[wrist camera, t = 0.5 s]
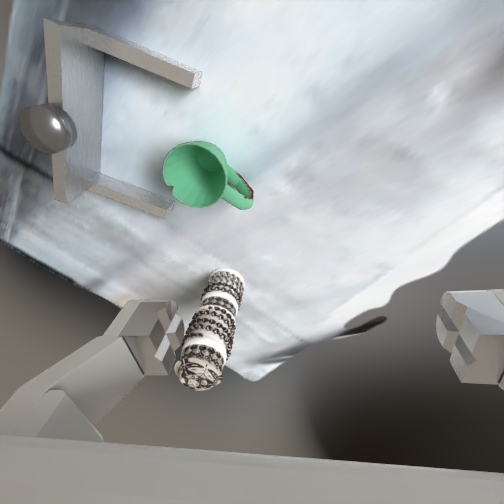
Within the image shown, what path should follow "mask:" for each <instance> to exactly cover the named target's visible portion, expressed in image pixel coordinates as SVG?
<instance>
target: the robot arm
mask: <svg viewBox="0 0 504 504" xmlns="http://www.w3.org/2000/svg"><path fill="white" fill-rule="evenodd" d="M441 304H442V305H443V307H444V310H442V311H441V312H440V313H439V314H438V316H437V320H436V329H437V334H438V337H439V340H440V342H441V344H442V346H443V348H445V349H446V350H448V351H449V352H451V353H452V355H451V358H450V362H451V364H452V366H453V368H454V370H455V371H456V373H457V375H458V377H459V379H460V381H461V383H481V384H499V387H500V388H502V389H503V390H504V289H500V290H499V289H498V290H497V289H496V290H480V291H451V292H445V293H444V294H443V296H442V300H441ZM177 309H178V307H177V305H176V303H175V301H174V300H171V299H159V300H130V301H128V302H127V303H126V304H125V306H124V307H123V308H122V310H121V311H120V313H119V314H118V316H117V317H116V318H115V319H114V321H113V322H112V324H111V325H110V326H109V328H108V329H107V331H106V332H105V333H104V335H103V336H102V337H97V338H95V339H93V340H92V341H90V342H89V343H87V344H86V345H84V346H83V347H81V348H79V349H78V350H76V351H75V352H73V353H72V354H71V355H69V356H67V357H66V358H64V359H63V360H61V361H60V362H58V363H56V364H55V365H53V366H52V367H50V368H49V369H47V370H46V371H44V372H42V373H41V374H39V375H38V376H36V377H35V378H33V379H32V380H30V381H29V382H27V383H26V384H24V385H22V386H21V387H19V389H18V390H17V391H16V392H15V393H14V395H13V396H12V397H11V398H10V399H9V400H8V402H7V403H6V404H5V405H4V406H3V407H2V408H1V410H0V504H504V473H492V472H480V471H467V470H454V469H441V468H428V467H415V466H403V465H389V464H377V463H364V462H351V461H338V460H324V459H312V458H299V457H286V456H273V455H260V454H247V453H234V452H221V451H208V450H195V449H181V448H169V447H155V446H143V445H130V444H116V443H103V438H102V436H101V434H100V433H99V432H98V431H97V430H96V428H95V427H94V426H95V425H96V424H97V423H98V422H99V421H100V420H101V419H102V418H103V417H104V416H105V415H106V414H107V413H108V412H109V411H110V410H111V409H112V408H113V407H114V406H115V405H116V404H117V403H118V402H119V401H120V400H121V399H122V398H123V397H124V396H125V395H126V394H127V393H128V392H129V391H130V390H131V389H132V388H133V387H134V386H135V385H136V384H137V383H138V382H139V381H140V380H141V379H142V378H143V377H144V375H169V372H170V370H171V367H172V365H173V363H174V361H175V358H176V356H175V353H174V351H175V350H176V349H177V348H179V347H180V346H181V344H182V341H183V338H184V323H183V320H182V318H181V317H180V316H179V315H177V314H176V311H177Z"/></svg>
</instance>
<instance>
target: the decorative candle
mask: <svg viewBox="0 0 504 504" xmlns="http://www.w3.org/2000/svg"><path fill="white" fill-rule="evenodd" d="M208 282H209V284H206V286H207V287H206V288H205V289H204V293H203V294H202V298H201V304H200V308H199V309H198V310H196V312H195V314H194V316H193V318H192V319H193V320H192V321H191V323H189V328H188V329H187V331H186V335H185V336H184V338H183V341H182V347H183V349H182V352H181V357H180V360H179V361H178V362H177V363H176V364H175V367H174V369H175V372H176V374H177V375H178V377H179V379H180V381H181V382H182V383H183V384H184V385H185V386H186V387H188V388H190V389H194V390H200V391H203V390H208V389H210V388H211V387H213V386H216V385H217V384H219V383H220V382H221V380H222V370H223V366H224V364H225V362H226V361H227V360H228V357H229V356H230V355H231V349H232V344H233V338H234V337H233V335H234V330H235V329H236V326H235V325H236V322H235V316H236V314H237V311H238V310H239V307H240V302H241V301H242V296H243V291H244V287H245V283H244V279H243V277H242V276H241V275H240V274H239V273H238V272H237V271H235V270H232V269H229V268H219V269H216V270H214V271H213V272H212V273H211V275H210V278H209V279H208ZM189 333H190V334H189ZM187 339H188V340H187ZM185 340H187V341H186V342H185Z"/></svg>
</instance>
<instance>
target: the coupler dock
mask: <svg viewBox="0 0 504 504" xmlns="http://www.w3.org/2000/svg"><path fill="white" fill-rule="evenodd" d="M43 22H44V39H45V55H46V72H47V88H48V104H41V105H36V106H31V107H27V108H25V109H23V110H22V111H21V113H20V115H19V126H20V129H21V131H22V133H23V135H24V137H25V138H26V140H27V141H28V142H29V143H30V144H31V145H32V146H33V147H34V148H36V149H37V150H39V151H41V152H43V153H46V154H52V170H53V187H54V199H55V200H58V201H61V202H63V203H68V202H69V201H71V200H72V199H74V198H76V197H77V196H79V195H80V194H82V193H83V192H85V191H87V190H89V191H92V192H94V193H97V194H100V195H102V196H105V197H108V198H110V199H113V200H116V201H118V202H121V203H124V204H126V205H129V206H132V207H134V208H137V209H140V210H143V211H145V212H148V213H151V214H153V215H156V216H159V217H161V218H164V219H166V217H167V216H168V215H169V214H170V213H171V211H172V210H173V206H174V202H175V201H172V200H170V199H167V198H165V197H162V196H159V195H157V194H154V193H151V192H149V191H146V190H144V189H141V188H138V187H136V186H133V185H130V184H128V183H125V182H123V181H120V180H117V179H115V178H112V177H109V176H107V175H104V174H102V173H100V161H101V137H102V112H103V88H104V64H105V53H107V54H110V55H112V56H114V57H117V58H119V59H122V60H124V61H126V62H129V63H131V64H133V65H136V66H138V67H141V68H143V69H145V70H148V71H150V72H153V73H155V74H157V75H160V76H162V77H164V78H167V79H169V80H172V81H174V82H176V83H179V84H181V85H184V86H186V87H188V88H191V89H193V88H196V87H199V86H200V81H201V76H202V72H200V71H198V70H196V69H193V68H191V67H189V66H186V65H184V64H182V63H179V62H177V61H175V60H172V59H170V58H168V57H165V56H163V55H161V54H158V53H156V52H154V51H151V50H149V49H147V48H144V47H142V46H139V45H137V44H135V43H132V42H130V41H128V40H125V39H123V38H121V37H118V36H116V35H114V34H111V33H109V32H107V31H104V30H102V29H100V28H97V27H95V26H93V25H86V24H79V23H72V22H66V21H59V20H52V19H45V18H43Z"/></svg>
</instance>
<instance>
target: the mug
mask: <svg viewBox="0 0 504 504" xmlns="http://www.w3.org/2000/svg"><path fill="white" fill-rule="evenodd" d="M162 172H163V180H164V182H165V184H166V186H173V189H172V193H171V194H172V195H173V196H174V197H175V198H176V199H177V200H179V201H180V202H182V203H183V204H186V205H188V206H191V207H199V208H202V207H207V206H211V205H212V204H214V203H216V202H217V201H218V200H219V199H220V198H223V199H224V200H226V201H227V202H228V203H230V204H231V205H233V206H235V207H236V208H238V209H240V210H245V209H249V208H251V206H252V204H253V190H252V189H251V187H250V186H249V185H248V184H247V182H246V181H245V180H244V179H243V177H242V176H241V175H239V174H238V173H237V172H236V171H235V170H233V169H232V168H231V167H230V166H229V165H227V162H226V159H225V156H224V154H223V152H222V151H221V149H220V148H218V147H217V146H216V145H214V144H212V143H209V142H203V141H194V142H187V143H183V144H180V145H178V146H176V147H175V148H174V149H172V150H171V151H170V152H169V153H168V154H167V156H166V158H165V159H164V163H163V168H162ZM227 181H228V182H229V183H231V184H232V185H233V186H234V187H235V188H236V189H237V191H238V192H237V191H236V190H234V189H233V188H232V187H230V186H229V185H227Z"/></svg>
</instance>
